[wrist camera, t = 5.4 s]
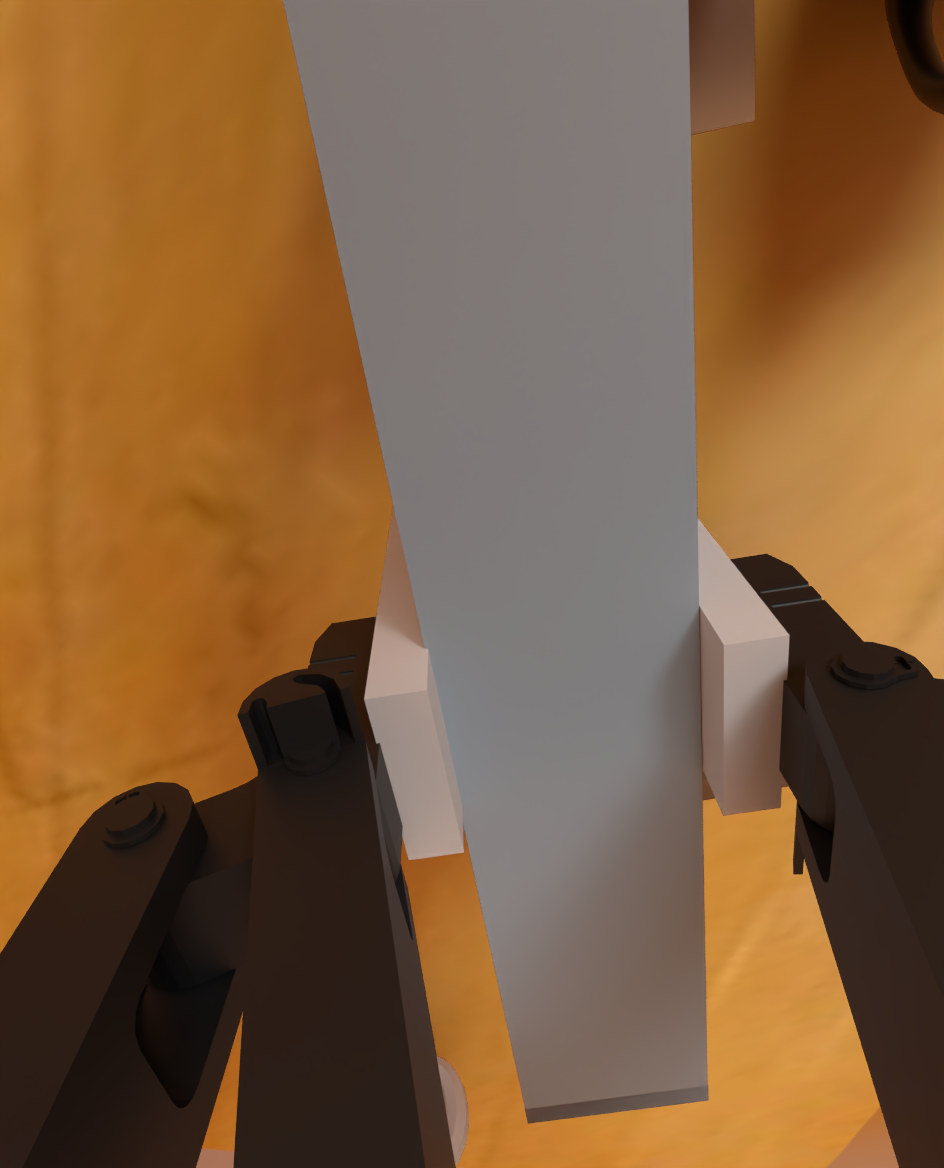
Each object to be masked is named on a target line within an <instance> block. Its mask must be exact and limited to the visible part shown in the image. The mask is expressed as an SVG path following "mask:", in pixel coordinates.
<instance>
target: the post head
mask: <svg viewBox="0 0 944 1168" xmlns="http://www.w3.org/2000/svg"><path fill="white" fill-rule="evenodd" d="M688 8H689V64H690V121H691V135H695V134H699V133H704V132H708V131H713V130H717V129H722V128H726V127H730V126H735V125H739V124H744V123H748V122H752V121H755V34H754V0H688Z"/></svg>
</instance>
